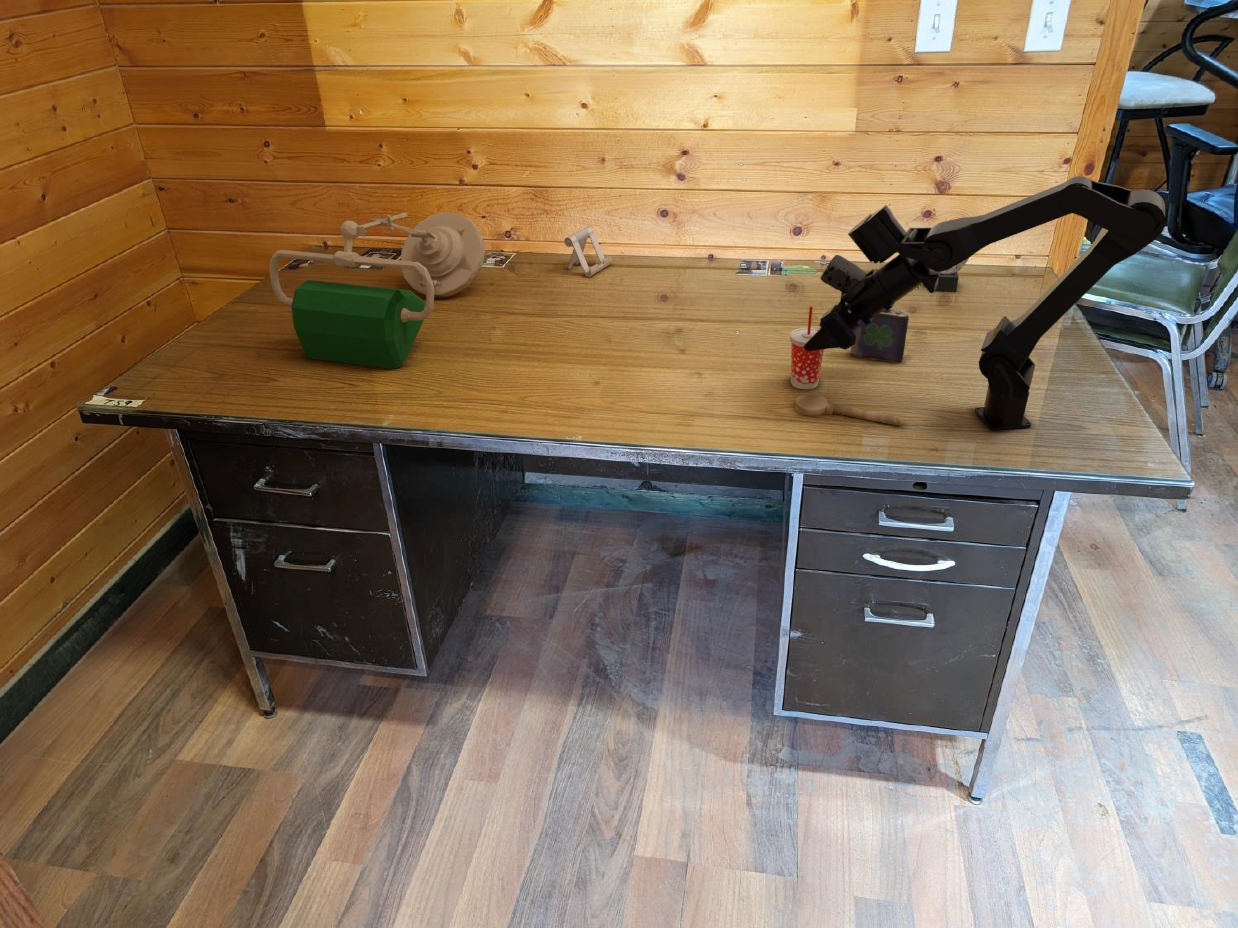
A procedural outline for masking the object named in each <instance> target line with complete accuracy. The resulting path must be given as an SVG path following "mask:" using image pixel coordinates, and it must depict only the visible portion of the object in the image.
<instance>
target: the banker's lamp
mask: <svg viewBox="0 0 1238 928" xmlns="http://www.w3.org/2000/svg"><path fill="white" fill-rule="evenodd" d="M405 219H408V213H407V212H402V213H399V214H396V215H392V216H391V214H387V215H386V218H369V222H368V223H364V224H361V225H358V223H356V222H355V221H353V220H345V221H344V222H343V223H342V224H341V226H340V234H341V236H342V237H343V238H344V246H343V250H337V251H336V252H335V253H334V254H332V253H331V254H330V253H319V252H311V251H299V250H288V249H279V250H276V251H275V252H274V253H273V254H272V256H271V258H270V260H269V277H270V284H271V287H272V290H273V293H274V294H275V297H277V299H278V300H279V301H280V302H281V303H283V304H284V305H285V306H288V307H290V308H291V309H290V310H291V315H292V324H293V329H294V331H295V334H296V337H297V339H298V341H299V342H298V343H299V344H300V347H301V349H302V352H303V354H304V357H305V358H308V359H313V360H320V361H328V362H334V363H343V364H349V365H357V366H363V367H364V366H366V367H372V368H381V369H387V370H393V369H398V368H400V367H401V366H403V364H404V363H405V362H406V360H407V358H408V356H409V354H410V351H411V349H412V347H413V345H414V343H415V341H416V338H417V336H418V335H419V332H420V330H421V328H422V325H423V323H424V321H425V320H426V319H427V318H429V317H430V316H431V314H432V312H433V310H434V309H435V308H434V305H435V299H442V298H443V299H444V298H449V297H451V296H454V295H457V294H459V293H461V292H462V291H463V290H465V289H466V288H468V286H469V285H471V284H472V283H473V282H474V280H475V279H476V278H477V276H478V275H479V273H480V271H481V270H482V267H483V264H484V261H485V254H486V244H485V240H484V237H483V235H482V232H481V230H480V229H479V227H478V226H477V224H476V223H474V222H473V221H472V220H471V218H469V217H467V216H464V215H463V214H461V213H457V212H451V211H446V212H445V211H444V212H438V213H436V214H432V215H430V216H427V217H426V218H424V219H423V220H422V221H420V222H419V223H417V224H416V225H415V226H414V227H413V228H410V227H406V226H402V225H400V224H397V223H394V221H398V220H405ZM378 226H379V227H389V231H390V232H392V231H394V229H396V230H400V231H402V232H403V231H404V232H406V233H409V234H408V235H407V237H406V239H405V241H404V243H403V246H402V248H401V253H400V259H390V258H382V257H373V256H363V255H360V254H359V253H358V252H356V251H353V246H354V240H356V239H357V238H359V237H363V238H365V237H366V234H367V230H366V229H370V228H373V227H378ZM282 258H283V259H292V260H304V261H315V262H325V263H326V262H327V263H334V265H335V266H338V267H346V268H348V267H349V268H358V267H359V266H360V265H361V266H371V267H380V268H381V267H382V268H393V269H401V272H402V275H403V276H404V280H405V281H406V282H407V283H408V284H409V286H410V287H411V288H412V289H413V290H414V291H416V292H417V293H419V294H420V295H423V296H425V298H426V301H425V300H423V299H422V298H421V297H419V295H417V294H416V293H414V291H411V290H410V289H403V288H402V289H401V288H393V287H391V288H390V287H381V286H371V285H364V284H363V285H362V284H352V283H343V282H333V281H332V282H331V281H322V280H314V279H313V280H312V279H307V280H306V281H304V282H303V283H301V284H300V285H299V286H298V287H296V288H295V289H294V292H293V297H288V296H287V295H286V294H285V293H284V291H283V289H282V287H281V283H280V280H279V274H278V270H279V263H280V260H281V259H282Z"/></svg>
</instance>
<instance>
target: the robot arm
mask: <svg viewBox="0 0 1238 928" xmlns="http://www.w3.org/2000/svg"><path fill="white" fill-rule="evenodd" d="M1071 214H1074V215H1076V216H1079V217H1081V218H1084V219H1085V220H1087V221H1089V222H1090V223H1093V224H1094V225H1096V226H1098V227H1100V228H1101V229H1100V231H1099V233H1098V234H1097V236H1096V238H1095V240H1093V242H1092V243H1091V245H1089V247H1088V248H1086V249H1085V251H1084V252H1083V253H1082V254H1081V255H1080V256H1079V257H1078V258H1077V259H1076V260H1074V262H1073V263H1072V264H1071V265H1070V266H1069V267H1068V268H1067V269H1066V270H1065V271H1064V272H1063V273H1062V274H1061V275H1060V276H1059V278H1058V279H1056V280H1055V281H1054V283H1052V285H1051V286H1050V287H1048V289H1047V290H1046V291H1045V292H1044V293H1042V295H1041V296H1039V298H1038V299H1037V300H1036V301H1035V302H1034V303H1033V304H1032V305H1031V306H1030V307H1029V308H1028V309H1027V310H1026V311H1025V312H1024V313H1023V314H1022V315H1021V316H1019V317H1017V318H1015V319H1012V320H1010V319H1009V318H1008V317H1007V316H1006V315H1003V316H1002V318H1001V319H1000V321H999V323H998V324H997V325H996V326H995V327H994V328H993V329H992V330H990V331H988V332H986V335H985V337H984V340H983V343H982V346H981V347H980V351H981V355H980V357H979V360H978V369H979V371H980V373H981V375H982V376H984V378H985V379H986V380H987V385H988V386H987V390H986V394H985V400H984V406H977V407H974V413H975V414H976V415H977V416H978V418H980V419H981V421H982V422H983V423H984V424H985V425H986V426H987V427H988V428H989V430H991V431H999V430H1000V431H1001V430H1010V429H1012V430H1013V429H1022V428H1023V429H1024V428H1031V426H1032V422H1031V421H1030V420H1029V419H1028V418H1027V417H1026V416H1025V413H1026V408H1027V404H1028V400H1029V396H1030V389H1031V384H1032V382H1033V377H1034V372H1035V369H1036V363H1035V362H1034V361H1033V360H1032V359H1031V357H1030V356H1031V354H1032V353H1033V352H1034V349H1035V348H1036V346H1037V344H1038V343H1039V341H1040V339H1041V338H1042V337H1043V336H1044V335H1045V334H1046V333H1047V332H1048V331H1049V330H1050V329H1051V328H1053V326H1055V324H1056V323H1058V322H1059V321H1060V319H1062V317H1063V316H1064V315H1066V314H1067V312H1069V311H1070V309H1072V307H1074V306H1075V305H1076V304H1077V303H1078V302H1079V301H1080V300H1081V299H1082V298H1083V297H1084V296H1085V295H1087V293H1088V292H1089V291H1090V290H1091V289H1092V288H1093V287H1094V286H1095V285H1096V284H1097V283H1098V282H1099V281H1100V280H1101V279H1102V278H1103V277H1104V276H1105V275H1106V274H1107V273H1108V272H1109V271H1110V270H1111V269H1113V267H1115V266H1116V265H1118V264H1120V263H1122V262H1124V261H1125V260H1127V259H1129V258H1131V257H1133V256H1136V254H1138V253H1139V252H1141V251H1142V250H1144V249H1145V248H1146V247H1147V246H1149V245H1150V244H1152V243H1153V242H1155V241H1156V240H1157V239H1158V238H1159V237H1160V236H1161V235H1162V234H1163V232H1164V230H1165V227H1166V204H1165V201H1164V199H1163V197H1162V196H1161V195H1160V194H1159V193H1158V192H1155V191H1154V190H1151V189H1138V190H1137V189H1136V190H1132V189H1129V188H1126V187H1123V186H1120V185H1116V184H1111V183H1106V182H1100V181H1096V180H1093V179H1090V178H1088V177H1087V176H1081V175H1077V176H1073V177H1071V178H1069V179H1067V180H1066V181H1064V182H1063V183H1060V184H1058V185H1055V186H1052V187H1049V188H1047V189H1045V190H1042V191H1040V192H1037V193H1035V194H1032V195H1029V196H1027V197H1024V198H1023V199H1020V200H1017V201H1015V202H1012V203H1010V204H1007V205H1004V206H1003V207H999V208H997V209H994V210H993V211H989V212H987V213H985V214H980V215H976V216H968V217H967V216H966V217H959V218H954V219H949V220H946V221H945V220H944V221H941V222H938V223H937V224H935V225H933V226H932V227H909V228H908V229H907V231H906V230H905V228H904V227H903V226H902V225H901V223H900V222H899V221H898V220H897V219H896V217H895V215H894V213H893V212H892V210H891V209H890V207H889V206H888V205H883V206H881V208H880V209H877V210H876V211H875V212H873V213H869V214H868V215H866V216H865V218H863V219H862V220H861V221H859V222H858V223H856V225H855V226H853V228H851V230H850V231H848V233H847V235H848V236H849V237H850V239H851V240H852V241H853V243H854V244H855V245H856V246H857V248H858V249H859V251H861V253H862V254H863V255H864V256H865V257H866V259H867V260H868V261H869V263H872V262H873V264H878V263H879V264H883V263H884V262H886V261H887V262H886V263H885V264H884V265H882V266H881V267H880V268H878V269H877V268H875V269H874V268H872V269H870V270H869V271H867V272H866V271H865V270H864V269H862V268H861V267H860V266H858V264H855V263H853V262H852V261H850V260H848V259H847V258H845V257H844V256H842V255H840V254H835V255H834V256H833V257H832V258H831V259H830V261H829V262H828V264H827V266H826V267H825V269H824V271H823V272H822V274H821V275H820V281H821V282H822V283H824V284H825V285H828V286H830V287H831V288H833V289H834V290H836V291H839V292H841V293H840V300H839V302H837V304H835V305H833V306H832V307H830V308H829V309H828V310H827V311H825V312H824V313H823V315H822V316H821V317H820V319H819V328H818V329H819V330H818V331H817V332H816V333H815V334H814V335H813V336H812V337H811V339H810V340H809V341H808V342H807V343H806V344H805V345H804V348H805V350H806V351H814V350H822V349H824V350H827V349H842V350H845V351H847V350H848V349H851V346H853V345H854V344H855V343H856V342H857V340H858V338H859V337H860V335H861V326H860V325H859V324H858V322H859V320H860V319H861V320H862V321H863V322H864V324H865V325H867V324H869V323H870V322H871V321H872V319H873V318H874V317H875V316H876V315H877V314H879V313H880V312H882V311H883V310H885V309H886V310H887V311H888V310H889V309H893V308H894V305H895V304H896V303H897V302H898V301H899V300H901V299H902V298H904V297H905V296H907V295H908V294H909V293H912V292H913V291H914V290H916V289H917V288H919V287H920V286H921V285H923V286H924V287H925V289H926V290H927V291H928V292H929V293H930V294H934V292H936V291H935V289H936V287H937V285H938V278H939V276H940V274H941V272H942V271H946V270H949V269H950V268H954V267H955V266H956V265H958V264H959V263H961V262H963V261H965V260H966V259H968V258H969V259H970V258H971V257H972V256H974V255H976V254H977V253H978V252H979V251H981V250H982V249H984V248H985V247H988V246H990V245H992V244H994V243H998V242H1000V241H1003V240H1005V239H1008V238H1010V237H1013V236H1016V235H1018V234H1020V233H1023V232H1026V231H1029V230H1031V229H1034V228H1036V227H1037V228H1038V227H1039V226H1042V225H1045V224H1047V223H1050V222H1052V221H1056V220H1057V219H1060V218H1062V217H1066V216H1068V215H1071ZM896 253H898V254H897V255H895V254H896ZM894 255H895V256H894ZM892 256H894V257H893V258H892V259H890V258H891V257H892ZM889 259H890V260H889ZM969 259H968V260H969ZM888 260H889V261H888Z"/></svg>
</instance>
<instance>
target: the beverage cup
mask: <svg viewBox="0 0 1238 928" xmlns="http://www.w3.org/2000/svg"><path fill="white" fill-rule="evenodd" d="M812 316H813V306H809V309H808V320H807V321H808V322H807V327H800V328H799V327H798V328H795V329H793V330H792V331H790V333H789V341H790V343H791V345H790V346H791V347H790V349H791V350H790V352H791V354H790V357H791V359H790V361H791V362H790V367H791V368H790V384H791V386H792V387H794V388H796V389H798V390H799V389H800V390H813V389H815V388H817V387H818V386H819V381H820V376H821V368H822V363H823V356H824V352H825V351H824V350H825V349H822V350H814V351H806V350H805V348H804V345H805V344H806V343H807V342H808V341H809V340H810V339H811V337H812V336H813V335H814V334H815V333H816V332H817V331H818V330H819V329H820V328H815V327H812Z"/></svg>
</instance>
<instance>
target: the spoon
mask: <svg viewBox="0 0 1238 928" xmlns="http://www.w3.org/2000/svg"><path fill="white" fill-rule="evenodd" d="M794 409H795V411H797V412H798V413H799V414H801V415H804V416H809V417H817V416H818V417H819V416H821V415H824V414H827V415H831V416H833V414H836V415H842V416H846V417H847V416H848V417H851V418H857V419H862V420H868V421H873V422H876V423H877V422H878V423H883V424H889V425H894V426H901V425H902V424H903V423H904V419H903V418H902V417H901V416H900V415H899V416H898V415H893V414H889V413H888V414H887V413H883V412H879V411H878V412H876V411H873V410H866V409H862V408H856V407H851V406H845V405H840V404H835V403H831V402H829V401H828V399H827V398H826V397H824V396H822V395H819V394H815V393H814V394H812V393H809V394H807V393H806V394H802V395H798V397H797V398H795V404H794Z"/></svg>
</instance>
